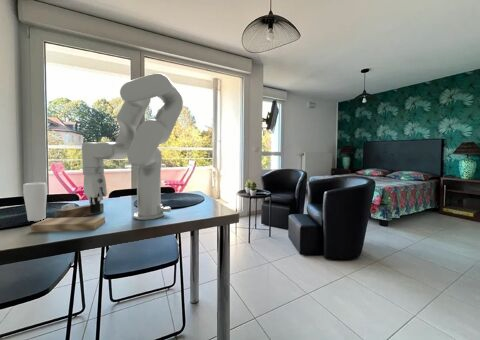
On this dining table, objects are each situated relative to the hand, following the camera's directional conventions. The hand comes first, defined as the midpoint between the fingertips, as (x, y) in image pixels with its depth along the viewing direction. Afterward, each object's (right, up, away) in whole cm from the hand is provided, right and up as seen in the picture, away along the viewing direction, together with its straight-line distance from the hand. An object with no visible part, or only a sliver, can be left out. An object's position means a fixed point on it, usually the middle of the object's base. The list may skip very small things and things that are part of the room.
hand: (95, 212), depth 93 cm
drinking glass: (-19, -2, -7) cm, 20 cm away
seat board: (0, -3, -14) cm, 14 cm away
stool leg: (-5, -1, -2) cm, 6 cm away
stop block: (-14, -1, +3) cm, 14 cm away
